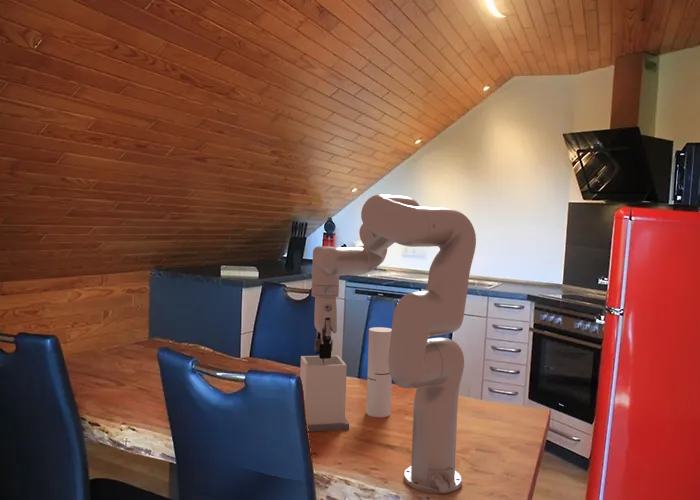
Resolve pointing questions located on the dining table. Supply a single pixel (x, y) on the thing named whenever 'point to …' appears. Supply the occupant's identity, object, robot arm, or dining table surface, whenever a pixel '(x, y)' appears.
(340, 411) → the press carafe
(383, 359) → the cylindrical container
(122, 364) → the dining table surface
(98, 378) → the dining table surface
